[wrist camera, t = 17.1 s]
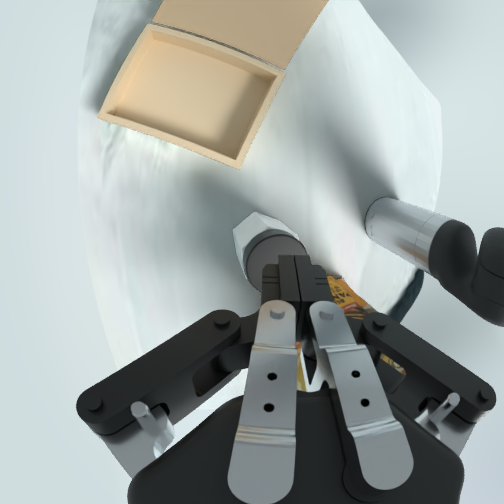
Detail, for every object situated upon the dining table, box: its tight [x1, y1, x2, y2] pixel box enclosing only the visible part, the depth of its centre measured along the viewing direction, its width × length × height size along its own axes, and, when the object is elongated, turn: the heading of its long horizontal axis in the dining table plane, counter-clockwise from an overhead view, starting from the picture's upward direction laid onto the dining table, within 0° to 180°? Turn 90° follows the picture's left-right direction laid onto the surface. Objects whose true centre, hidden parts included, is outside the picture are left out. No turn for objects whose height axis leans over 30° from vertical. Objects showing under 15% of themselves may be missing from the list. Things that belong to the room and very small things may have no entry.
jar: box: [233, 212, 307, 291], centre depth 39 cm, size 9×8×12 cm
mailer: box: [97, 24, 286, 170], centre depth 33 cm, size 16×22×4 cm
